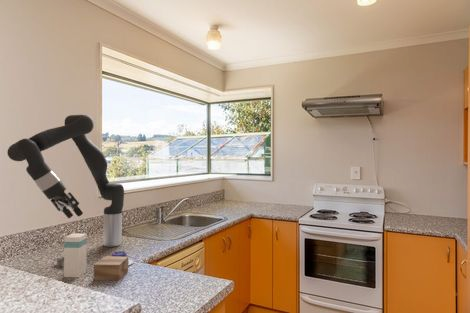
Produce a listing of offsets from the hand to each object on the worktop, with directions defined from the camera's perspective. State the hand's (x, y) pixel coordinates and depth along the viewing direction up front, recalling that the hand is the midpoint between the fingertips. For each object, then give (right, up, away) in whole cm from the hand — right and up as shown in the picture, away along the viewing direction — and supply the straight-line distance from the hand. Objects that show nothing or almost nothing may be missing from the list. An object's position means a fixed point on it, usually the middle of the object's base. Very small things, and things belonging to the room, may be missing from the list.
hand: (75, 216), depth 128 cm
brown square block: (+15, -24, -2) cm, 28 cm away
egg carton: (-8, -24, +12) cm, 28 cm away
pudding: (+14, -24, +12) cm, 30 cm away
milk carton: (0, -24, -1) cm, 24 cm away
